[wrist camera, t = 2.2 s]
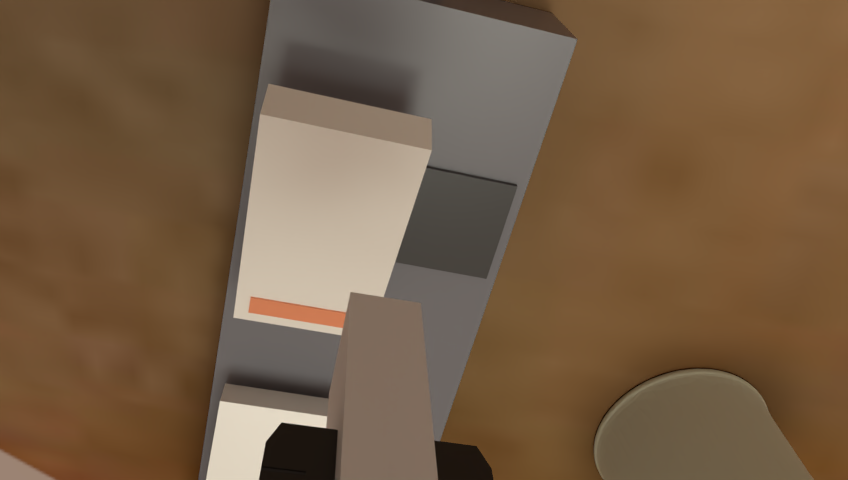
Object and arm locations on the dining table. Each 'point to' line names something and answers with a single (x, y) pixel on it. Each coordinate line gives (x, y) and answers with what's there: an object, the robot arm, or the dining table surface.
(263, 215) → the block
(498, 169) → the rocker switch panel
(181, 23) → the dining table surface
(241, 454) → the small box
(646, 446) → the can
